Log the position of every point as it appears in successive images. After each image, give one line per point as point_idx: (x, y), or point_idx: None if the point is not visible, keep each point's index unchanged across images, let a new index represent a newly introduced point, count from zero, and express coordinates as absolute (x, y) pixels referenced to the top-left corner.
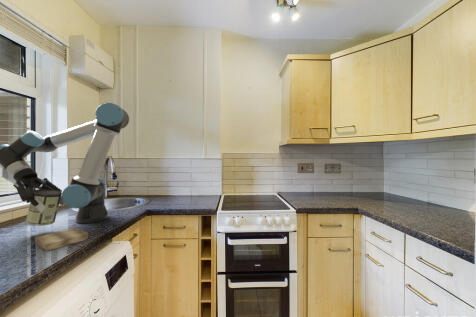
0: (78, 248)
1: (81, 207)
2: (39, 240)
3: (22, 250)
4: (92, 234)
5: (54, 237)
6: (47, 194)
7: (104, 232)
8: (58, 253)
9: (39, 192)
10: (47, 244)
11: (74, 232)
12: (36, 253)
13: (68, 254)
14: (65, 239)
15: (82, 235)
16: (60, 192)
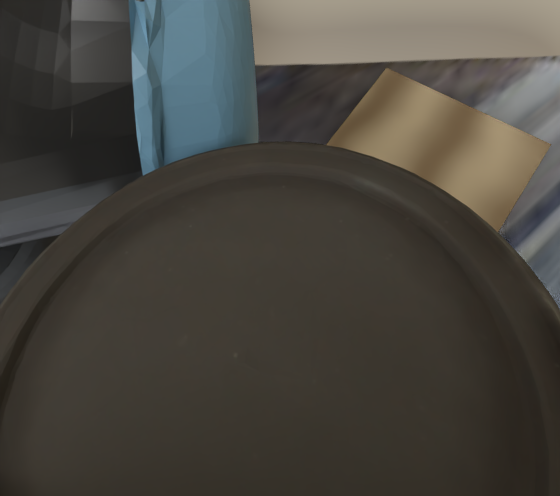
0: (481, 64)
1: (21, 264)
2: (503, 221)
3: (540, 275)
4: (320, 108)
5: (457, 176)
6: (434, 217)
7: (295, 75)
8: (538, 100)
9: (435, 481)
10: (543, 143)
11: (377, 133)
12: (556, 183)
13: (539, 61)
14: (474, 109)
15: (407, 80)
16: (114, 210)
